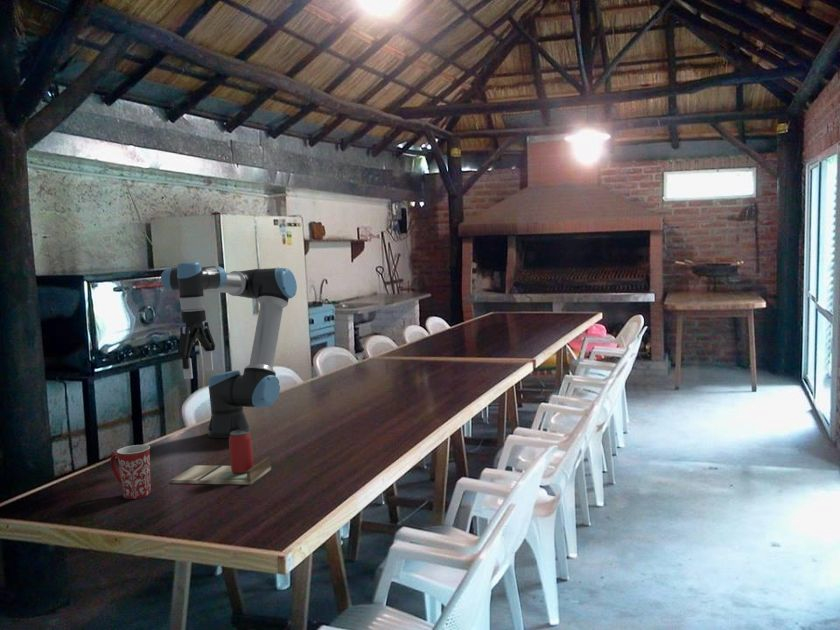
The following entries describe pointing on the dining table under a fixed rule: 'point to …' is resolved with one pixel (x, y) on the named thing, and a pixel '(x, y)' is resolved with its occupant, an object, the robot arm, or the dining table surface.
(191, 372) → the robot arm
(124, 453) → the mug
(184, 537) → the dining table surface
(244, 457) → the beer can
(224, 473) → the beige green bent panel
